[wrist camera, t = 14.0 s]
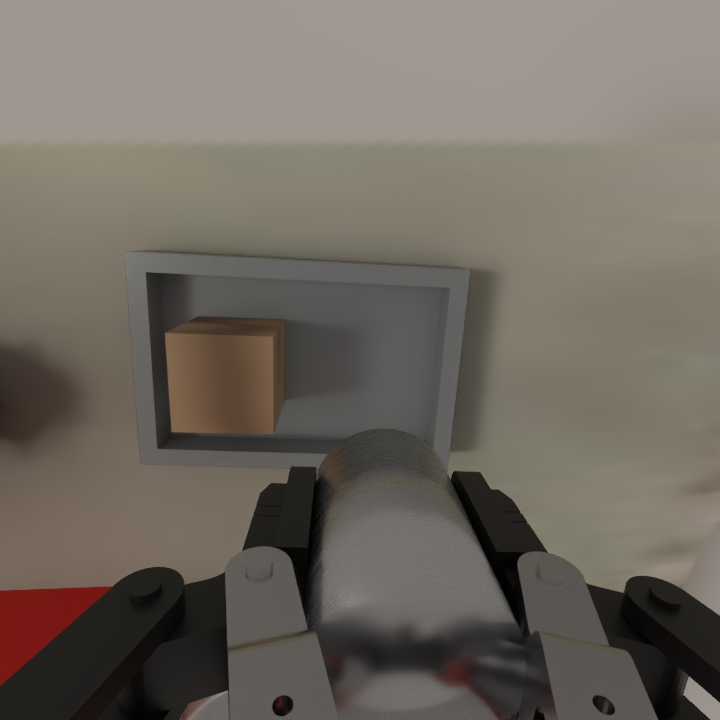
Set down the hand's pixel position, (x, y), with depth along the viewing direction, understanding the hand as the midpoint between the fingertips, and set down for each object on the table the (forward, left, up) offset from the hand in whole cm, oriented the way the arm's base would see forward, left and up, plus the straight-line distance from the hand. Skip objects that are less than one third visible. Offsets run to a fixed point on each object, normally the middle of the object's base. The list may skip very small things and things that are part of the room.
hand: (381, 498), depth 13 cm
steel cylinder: (0, 0, 0) cm, 0 cm away
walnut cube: (-7, 0, -14) cm, 16 cm away
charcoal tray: (-4, 0, -15) cm, 15 cm away
